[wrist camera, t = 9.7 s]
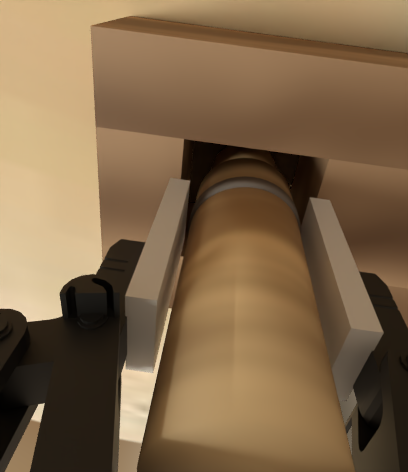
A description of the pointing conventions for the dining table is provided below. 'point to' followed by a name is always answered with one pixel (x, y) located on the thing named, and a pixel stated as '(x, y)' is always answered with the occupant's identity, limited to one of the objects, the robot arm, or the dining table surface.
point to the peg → (244, 338)
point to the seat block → (254, 127)
